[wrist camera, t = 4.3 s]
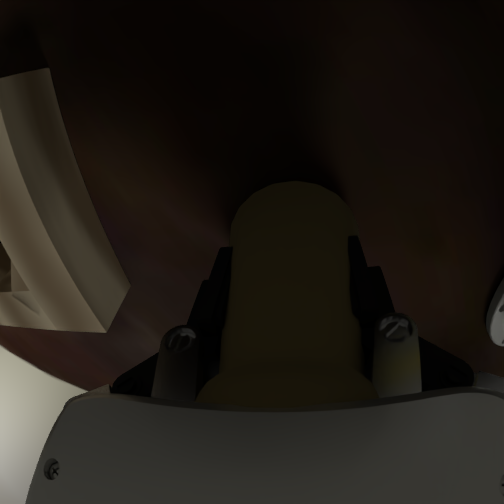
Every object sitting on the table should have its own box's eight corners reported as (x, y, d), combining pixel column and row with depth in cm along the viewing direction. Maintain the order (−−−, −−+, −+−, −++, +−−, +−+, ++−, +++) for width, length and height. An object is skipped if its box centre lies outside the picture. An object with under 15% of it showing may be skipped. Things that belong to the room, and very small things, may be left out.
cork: (218, 272, 15) (153, 492, 6) (247, 162, 12) (137, 454, 3) (328, 303, 16) (335, 516, 7) (380, 206, 12) (475, 468, 3)
